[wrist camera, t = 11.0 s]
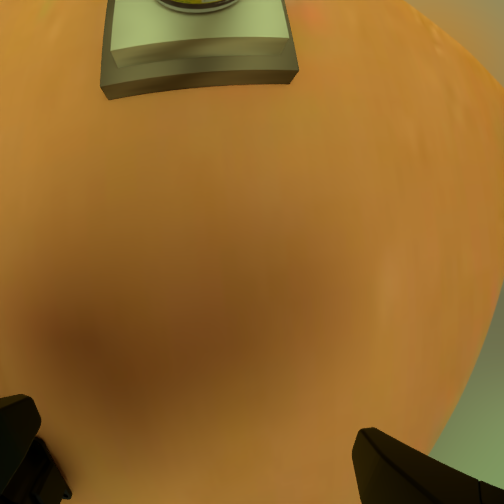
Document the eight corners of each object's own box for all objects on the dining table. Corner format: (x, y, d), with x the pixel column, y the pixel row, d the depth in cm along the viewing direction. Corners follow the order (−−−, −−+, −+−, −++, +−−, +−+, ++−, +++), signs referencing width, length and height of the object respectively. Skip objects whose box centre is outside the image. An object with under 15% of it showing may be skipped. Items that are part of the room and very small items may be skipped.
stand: (108, 99, 16) (90, 71, 12) (118, -22, 15) (110, -56, 11) (289, 84, 18) (310, 54, 14) (265, -31, 17) (278, -65, 13)
